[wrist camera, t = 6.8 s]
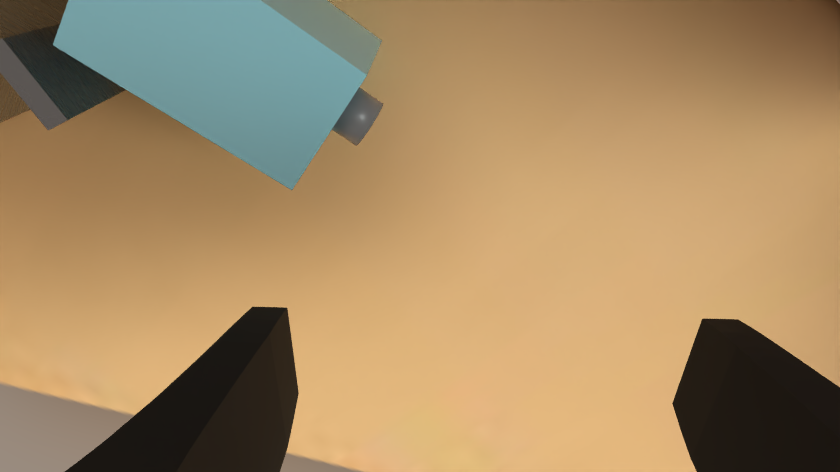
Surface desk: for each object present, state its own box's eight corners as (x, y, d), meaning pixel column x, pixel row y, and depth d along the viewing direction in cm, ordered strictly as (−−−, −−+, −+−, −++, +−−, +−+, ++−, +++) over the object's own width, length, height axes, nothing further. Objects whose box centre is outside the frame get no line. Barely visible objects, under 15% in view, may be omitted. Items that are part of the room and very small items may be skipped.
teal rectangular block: (406, 58, 16) (399, 98, 12) (346, 147, 18) (322, 209, 14) (194, -98, 14) (106, -109, 10) (146, 16, 16) (52, 45, 12)
